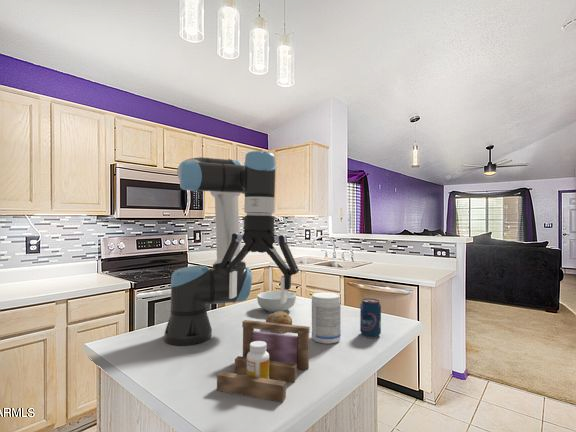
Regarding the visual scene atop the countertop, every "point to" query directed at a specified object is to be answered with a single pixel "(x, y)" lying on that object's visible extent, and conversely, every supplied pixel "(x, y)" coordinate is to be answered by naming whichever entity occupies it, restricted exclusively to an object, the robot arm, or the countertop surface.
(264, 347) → the supplement bottle
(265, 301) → the cereal bowl
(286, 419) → the countertop surface
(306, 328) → the wooden rack
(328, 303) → the supplement tub
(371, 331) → the soda can
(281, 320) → the bread roll
